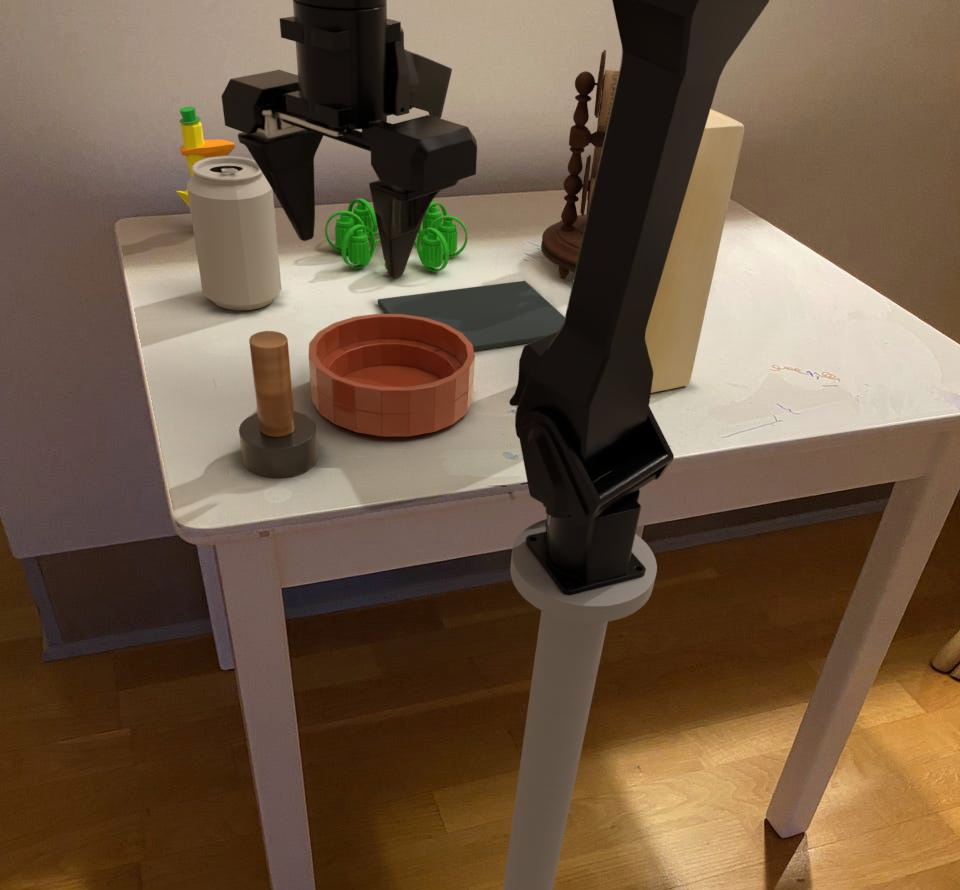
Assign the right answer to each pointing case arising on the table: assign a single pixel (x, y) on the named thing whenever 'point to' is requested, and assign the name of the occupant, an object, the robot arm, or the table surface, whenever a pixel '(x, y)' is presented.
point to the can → (234, 232)
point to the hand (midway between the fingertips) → (350, 257)
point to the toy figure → (198, 143)
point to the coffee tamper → (275, 415)
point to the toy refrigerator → (693, 256)
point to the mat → (485, 313)
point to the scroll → (580, 169)
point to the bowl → (391, 374)
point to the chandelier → (359, 226)
